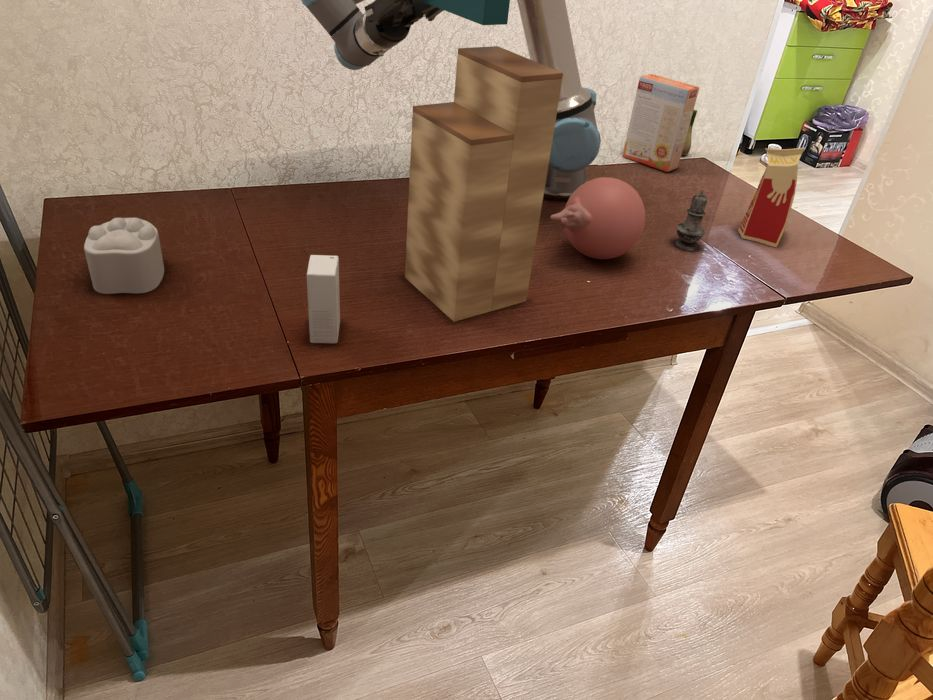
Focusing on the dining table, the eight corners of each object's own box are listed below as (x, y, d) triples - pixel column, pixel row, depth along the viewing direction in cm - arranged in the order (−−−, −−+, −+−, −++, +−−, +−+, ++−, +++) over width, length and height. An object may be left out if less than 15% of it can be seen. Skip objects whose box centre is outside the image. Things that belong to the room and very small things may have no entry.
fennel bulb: (683, 150, 197) (695, 107, 191) (693, 157, 194) (705, 113, 187) (665, 151, 196) (677, 107, 189) (675, 157, 192) (687, 113, 185)
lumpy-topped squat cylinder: (87, 294, 112) (75, 244, 107) (105, 255, 122) (95, 208, 117) (157, 293, 114) (149, 244, 109) (169, 254, 124) (162, 209, 119)
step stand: (404, 277, 125) (415, 50, 104) (474, 260, 133) (497, 45, 111) (453, 322, 115) (477, 80, 93) (526, 301, 123) (563, 72, 101)
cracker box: (678, 168, 185) (701, 86, 173) (667, 173, 181) (689, 89, 169) (633, 152, 192) (651, 72, 180) (621, 156, 189) (639, 75, 177)
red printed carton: (782, 232, 157) (816, 144, 146) (778, 248, 150) (813, 156, 139) (740, 222, 160) (770, 134, 148) (734, 237, 153) (765, 146, 141)
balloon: (523, 244, 141) (534, 169, 132) (607, 233, 148) (623, 162, 139) (561, 281, 129) (576, 203, 121) (650, 268, 137) (671, 193, 128)
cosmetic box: (312, 321, 111) (310, 253, 105) (340, 322, 112) (339, 254, 105) (308, 343, 106) (305, 273, 100) (337, 344, 107) (336, 275, 100)
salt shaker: (701, 253, 145) (719, 198, 138) (672, 248, 145) (688, 193, 138) (699, 241, 149) (716, 187, 142) (671, 236, 150) (687, 182, 143)
